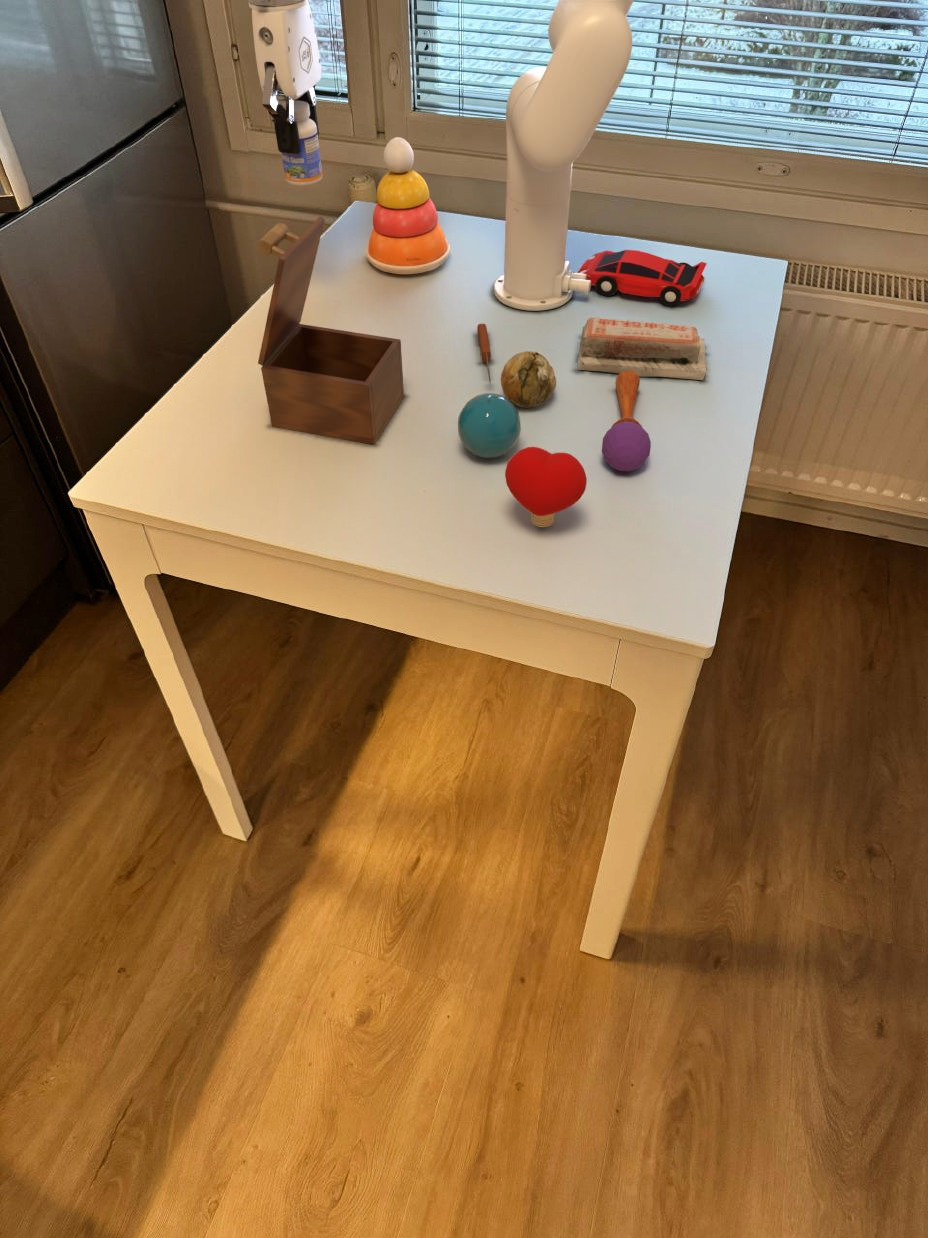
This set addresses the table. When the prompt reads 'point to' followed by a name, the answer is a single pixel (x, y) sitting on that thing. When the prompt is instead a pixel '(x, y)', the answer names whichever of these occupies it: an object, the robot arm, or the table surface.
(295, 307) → the lid
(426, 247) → the stacking toy
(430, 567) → the table surface
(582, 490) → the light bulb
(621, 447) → the purple maraca
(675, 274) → the toy car
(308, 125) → the pill bottle
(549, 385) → the cracked brown sphere
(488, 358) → the brown screwdriver
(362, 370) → the chest
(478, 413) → the ball
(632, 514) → the table surface
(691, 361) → the packaged product
